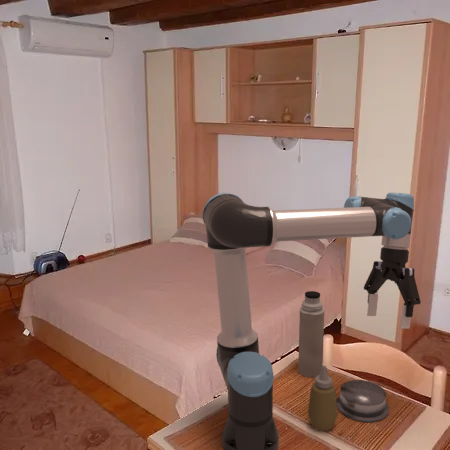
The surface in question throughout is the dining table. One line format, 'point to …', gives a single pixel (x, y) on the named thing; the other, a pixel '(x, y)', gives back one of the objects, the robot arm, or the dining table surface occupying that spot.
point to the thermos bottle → (311, 335)
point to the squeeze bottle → (322, 402)
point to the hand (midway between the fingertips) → (387, 321)
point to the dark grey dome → (362, 401)
